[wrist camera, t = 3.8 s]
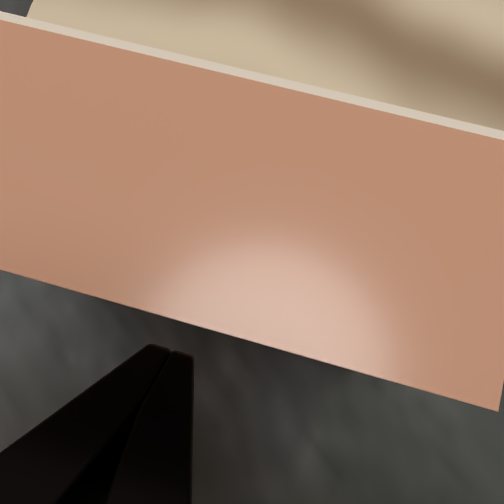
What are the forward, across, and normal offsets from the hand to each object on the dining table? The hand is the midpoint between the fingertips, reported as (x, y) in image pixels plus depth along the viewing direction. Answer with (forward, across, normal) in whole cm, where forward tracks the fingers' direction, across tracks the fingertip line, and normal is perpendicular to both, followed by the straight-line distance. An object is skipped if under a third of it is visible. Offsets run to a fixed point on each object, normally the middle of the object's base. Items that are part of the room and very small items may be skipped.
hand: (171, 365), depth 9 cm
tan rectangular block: (+7, 0, +4) cm, 8 cm away
